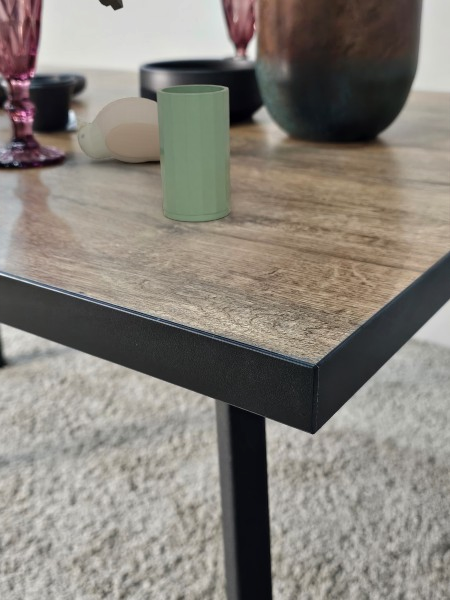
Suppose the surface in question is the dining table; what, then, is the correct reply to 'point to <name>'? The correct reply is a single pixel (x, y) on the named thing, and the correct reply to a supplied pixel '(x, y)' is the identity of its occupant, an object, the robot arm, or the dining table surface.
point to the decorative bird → (122, 131)
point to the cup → (194, 151)
